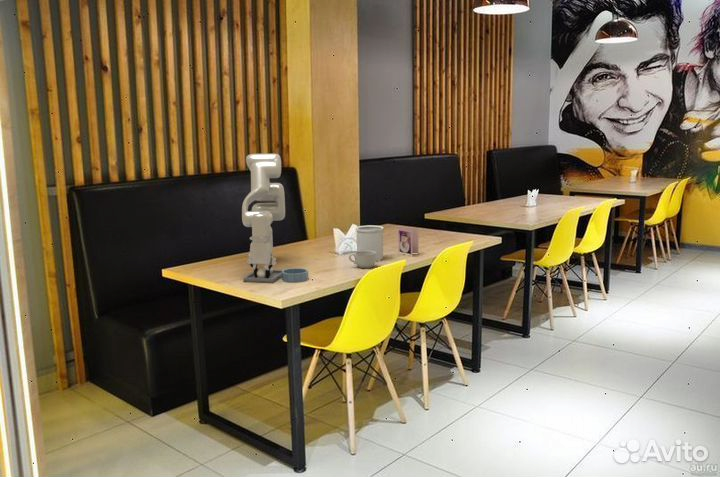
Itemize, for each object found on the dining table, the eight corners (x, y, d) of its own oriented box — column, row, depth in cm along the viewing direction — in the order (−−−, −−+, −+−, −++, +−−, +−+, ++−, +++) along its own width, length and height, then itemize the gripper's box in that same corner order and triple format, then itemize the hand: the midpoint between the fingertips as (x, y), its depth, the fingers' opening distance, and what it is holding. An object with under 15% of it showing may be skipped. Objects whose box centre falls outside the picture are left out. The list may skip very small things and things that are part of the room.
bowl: (278, 281, 299) (278, 273, 298) (287, 275, 311) (286, 267, 310) (303, 282, 296) (303, 274, 296) (311, 276, 308) (310, 268, 307)
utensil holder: (381, 262, 338) (381, 229, 335) (353, 261, 341) (353, 229, 338) (385, 256, 353) (385, 225, 350) (359, 256, 356) (359, 225, 352)
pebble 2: (261, 275, 308) (261, 265, 308) (265, 273, 313) (264, 263, 312) (271, 275, 307) (270, 266, 307) (274, 273, 312) (274, 264, 311)
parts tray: (243, 281, 300) (243, 277, 299) (257, 273, 317) (257, 269, 316) (273, 283, 296) (273, 279, 296) (286, 274, 314) (285, 270, 313)
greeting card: (397, 253, 360) (397, 227, 358) (407, 252, 365) (407, 226, 362) (411, 257, 352) (411, 230, 349) (420, 255, 356) (421, 228, 354)
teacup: (375, 264, 333) (375, 249, 332) (376, 269, 323) (376, 253, 321) (348, 265, 333) (348, 250, 331) (349, 269, 322) (348, 254, 321)
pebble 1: (255, 279, 301) (255, 269, 300) (259, 277, 305) (258, 267, 305) (265, 279, 300) (264, 269, 299) (268, 277, 304) (268, 267, 304)
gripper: (240, 240, 298) (242, 278, 301) (275, 241, 294) (276, 280, 297) (246, 237, 305) (248, 275, 308) (280, 238, 301) (281, 276, 304)
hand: (262, 277), depth 302 cm, fingers closed on pebble 1, 4 cm apart
